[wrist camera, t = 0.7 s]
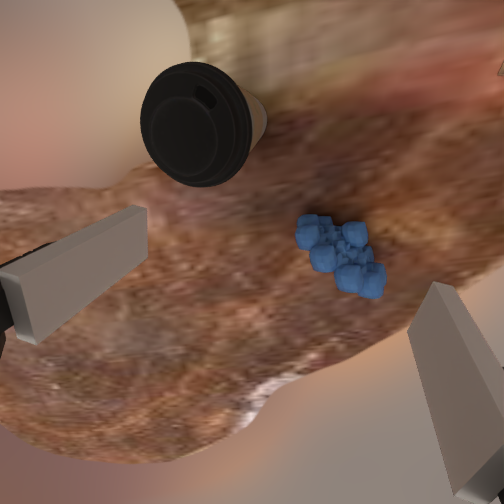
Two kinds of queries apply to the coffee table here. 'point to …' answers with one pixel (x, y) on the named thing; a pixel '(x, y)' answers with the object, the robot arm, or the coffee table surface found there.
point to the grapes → (342, 254)
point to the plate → (501, 70)
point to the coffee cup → (200, 124)
